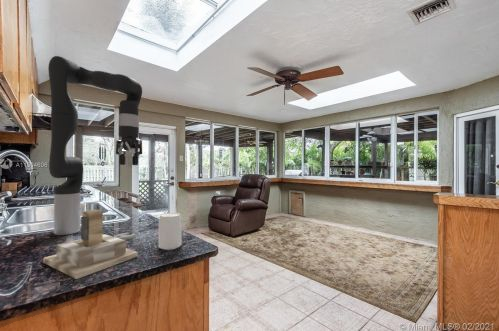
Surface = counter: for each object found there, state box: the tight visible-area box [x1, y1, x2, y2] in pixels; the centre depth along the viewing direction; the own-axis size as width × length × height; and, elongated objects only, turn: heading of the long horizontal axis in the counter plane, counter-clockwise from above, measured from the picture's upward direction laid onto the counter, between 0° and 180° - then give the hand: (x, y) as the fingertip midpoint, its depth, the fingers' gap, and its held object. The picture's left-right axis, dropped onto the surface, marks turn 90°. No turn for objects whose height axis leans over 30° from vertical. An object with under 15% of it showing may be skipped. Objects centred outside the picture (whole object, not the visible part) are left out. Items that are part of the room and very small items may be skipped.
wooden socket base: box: [42, 233, 139, 280], centre depth 76 cm, size 20×18×6 cm
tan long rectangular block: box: [80, 209, 104, 247], centre depth 76 cm, size 4×5×14 cm
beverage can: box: [158, 212, 183, 251], centre depth 88 cm, size 8×8×12 cm
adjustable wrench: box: [113, 232, 136, 241], centre depth 91 cm, size 25×6×2 cm, turn 138°
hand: (128, 165), depth 99 cm, fingers open, 8 cm apart
